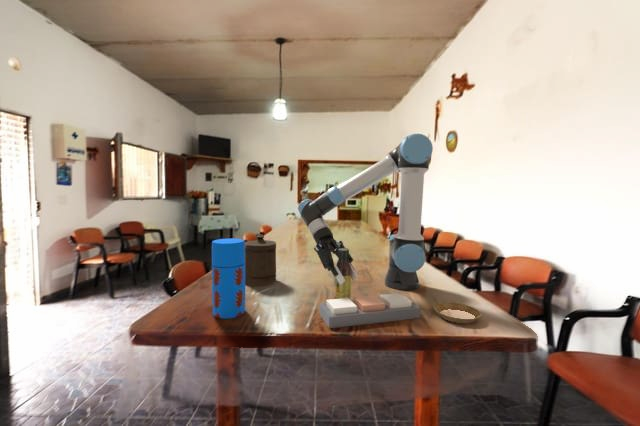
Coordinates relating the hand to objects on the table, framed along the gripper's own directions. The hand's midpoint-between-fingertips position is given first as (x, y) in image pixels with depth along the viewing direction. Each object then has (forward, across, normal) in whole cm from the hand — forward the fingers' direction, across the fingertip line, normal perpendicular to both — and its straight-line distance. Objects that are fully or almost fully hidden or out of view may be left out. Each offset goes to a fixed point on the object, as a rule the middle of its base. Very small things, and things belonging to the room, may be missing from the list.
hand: (349, 280), depth 112 cm
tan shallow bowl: (+28, -22, +14) cm, 38 cm away
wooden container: (-27, +11, -40) cm, 49 cm away
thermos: (-9, +37, -22) cm, 44 cm away
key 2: (+15, -8, +5) cm, 18 cm away
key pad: (+14, +1, +1) cm, 14 cm away
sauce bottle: (+4, 0, -9) cm, 9 cm away
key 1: (+9, +10, 0) cm, 13 cm away
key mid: (+12, +1, +3) cm, 12 cm away
